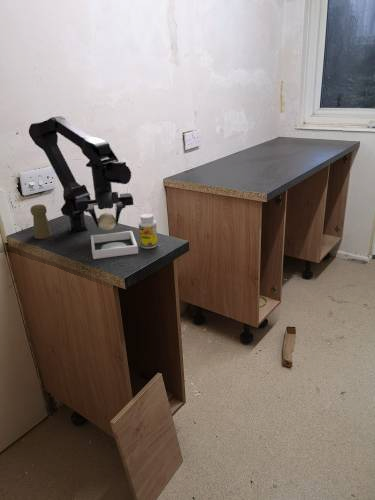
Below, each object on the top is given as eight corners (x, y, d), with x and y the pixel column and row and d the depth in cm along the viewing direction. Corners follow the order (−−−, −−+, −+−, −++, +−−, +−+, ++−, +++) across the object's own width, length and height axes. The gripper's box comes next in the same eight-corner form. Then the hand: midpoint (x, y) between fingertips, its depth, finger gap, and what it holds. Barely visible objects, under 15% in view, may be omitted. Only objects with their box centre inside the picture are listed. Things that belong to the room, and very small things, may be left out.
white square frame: (91, 242, 132) (90, 235, 131) (132, 237, 135) (131, 230, 134) (93, 259, 120) (92, 251, 119) (138, 253, 122) (137, 245, 121)
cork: (46, 231, 143) (40, 201, 138) (55, 234, 139) (50, 204, 135) (30, 236, 139) (24, 206, 134) (40, 240, 135) (34, 209, 131)
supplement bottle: (136, 247, 127) (134, 217, 123) (146, 241, 131) (144, 211, 127) (151, 250, 124) (149, 219, 120) (161, 244, 129) (159, 214, 125)
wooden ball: (98, 228, 139) (96, 211, 136) (115, 226, 140) (114, 209, 138) (99, 234, 133) (97, 217, 131) (117, 231, 135) (115, 215, 132)
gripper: (72, 189, 121) (79, 237, 127) (133, 184, 125) (137, 230, 131) (72, 181, 131) (79, 225, 137) (129, 176, 135) (133, 219, 141)
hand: (107, 225), depth 136 cm, fingers closed on wooden ball, 6 cm apart
